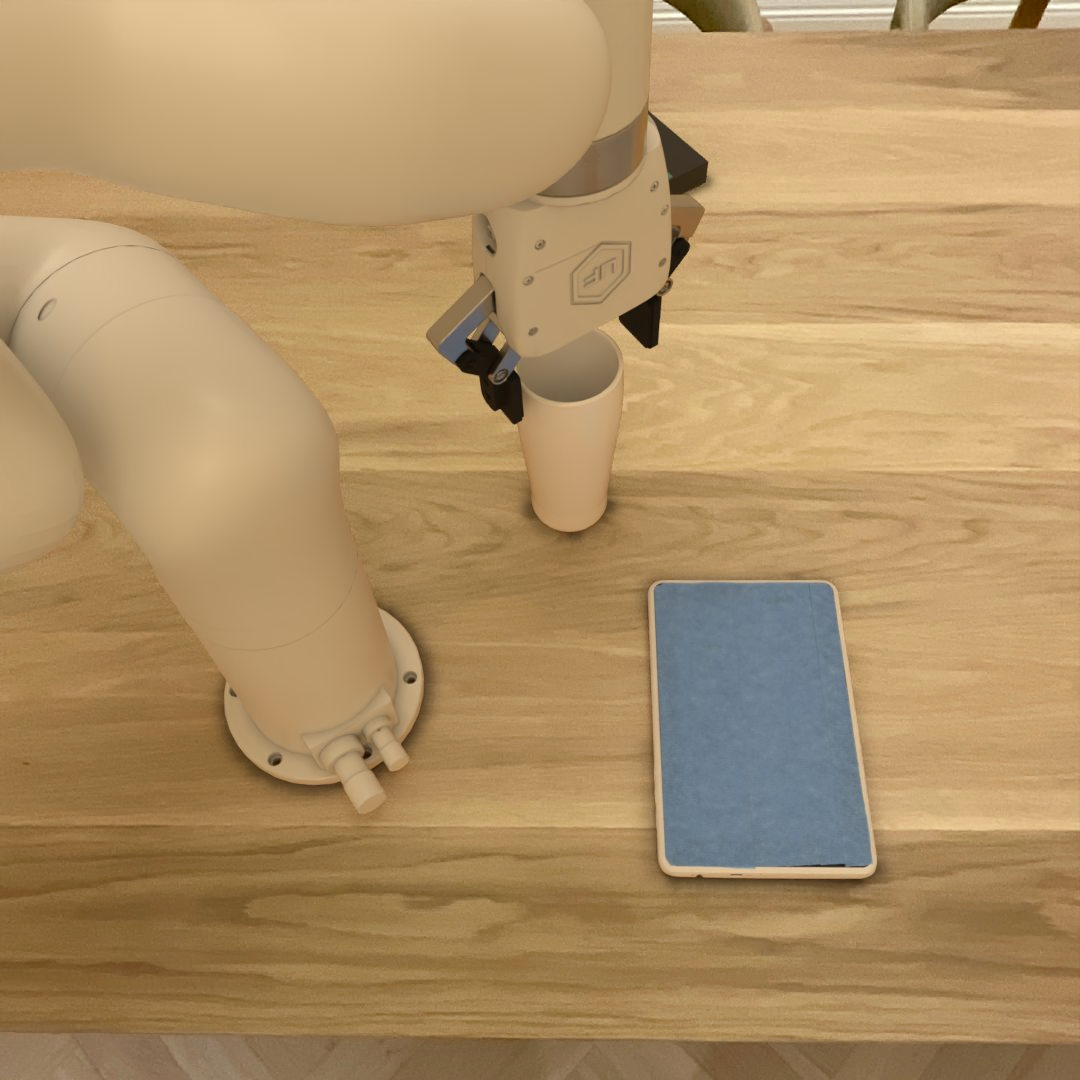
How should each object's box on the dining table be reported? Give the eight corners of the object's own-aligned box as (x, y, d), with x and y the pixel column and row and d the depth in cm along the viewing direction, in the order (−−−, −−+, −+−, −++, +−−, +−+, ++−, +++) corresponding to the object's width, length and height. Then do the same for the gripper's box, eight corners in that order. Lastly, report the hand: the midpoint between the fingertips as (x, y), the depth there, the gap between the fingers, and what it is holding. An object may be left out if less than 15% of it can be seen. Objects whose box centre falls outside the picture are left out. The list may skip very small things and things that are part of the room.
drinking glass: (634, 490, 76) (646, 346, 63) (585, 560, 73) (587, 423, 60) (554, 451, 78) (549, 304, 65) (503, 517, 75) (487, 376, 62)
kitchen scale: (706, 182, 93) (709, 153, 91) (574, 248, 89) (574, 220, 87) (612, 100, 99) (613, 71, 97) (485, 159, 96) (482, 130, 93)
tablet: (877, 881, 61) (882, 875, 60) (656, 878, 62) (658, 872, 60) (834, 587, 71) (838, 577, 70) (645, 587, 72) (646, 577, 71)
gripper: (448, 253, 45) (484, 481, 60) (764, 95, 50) (725, 343, 64) (363, 158, 49) (417, 396, 63) (666, 19, 53) (651, 271, 68)
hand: (572, 369), depth 64 cm, fingers open, 9 cm apart
